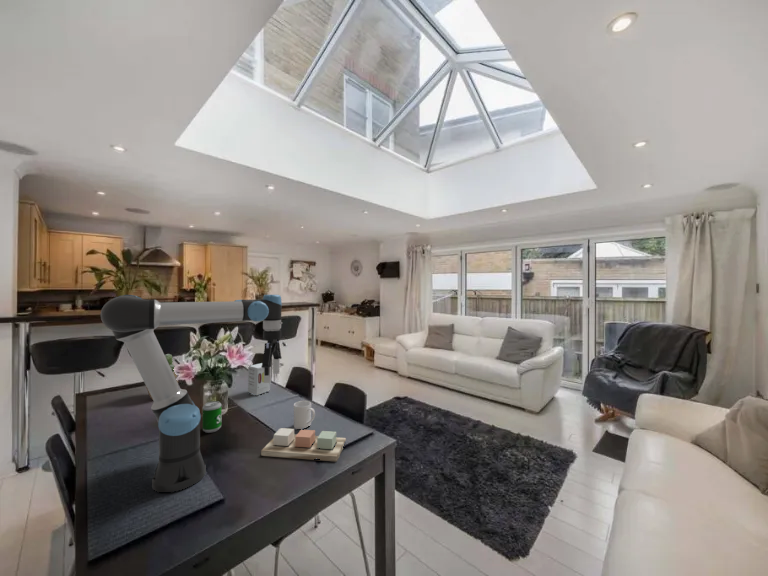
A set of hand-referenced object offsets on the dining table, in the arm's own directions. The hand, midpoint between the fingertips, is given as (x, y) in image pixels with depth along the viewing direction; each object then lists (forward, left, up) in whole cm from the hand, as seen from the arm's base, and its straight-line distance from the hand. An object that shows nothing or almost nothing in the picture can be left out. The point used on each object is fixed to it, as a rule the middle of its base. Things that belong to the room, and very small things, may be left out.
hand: (272, 377), depth 136 cm
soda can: (+1, +29, -25) cm, 39 cm away
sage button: (-9, -28, -23) cm, 37 cm away
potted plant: (+35, +85, -25) cm, 95 cm away
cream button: (-9, -10, -23) cm, 27 cm away
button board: (-9, -19, -25) cm, 33 cm away
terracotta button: (-9, -19, -23) cm, 31 cm away
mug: (+9, -12, -25) cm, 29 cm away
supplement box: (+49, +33, -25) cm, 64 cm away
